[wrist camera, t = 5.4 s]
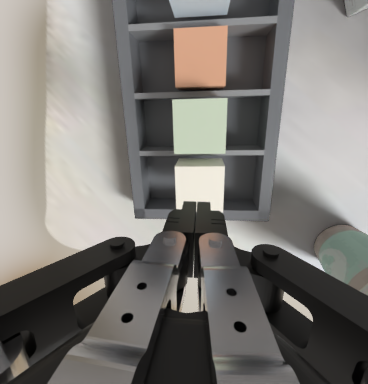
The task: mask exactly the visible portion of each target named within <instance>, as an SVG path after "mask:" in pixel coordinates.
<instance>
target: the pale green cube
mask: <svg viewBox="0 0 368 384" xmlns="http://www.w3.org/2000/svg"><path fill="white" fill-rule="evenodd" d="M227 102H228V98H208V99H172V109H173V136H174V154H225V152H226V127H227Z"/></svg>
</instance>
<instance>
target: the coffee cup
mask: <svg viewBox="0 0 368 384" xmlns="http://www.w3.org/2000/svg"><path fill="white" fill-rule="evenodd" d="M314 251H315V254H316V256H317V258H318V259H319V261H320V263H321V265H322V267H323V269H324V271H325V272H326V273H327V274H329V275H331V276H333V277H335V278H336V279H338V280H340V281H342V282H344V283H346V284H347V285H349V286H351V287H353V288H355V289H357V290H358V291H360V292H362V293H364V294H366V295H368V235H367V234H365V233H363V232H361V231H359V230H358V229H356V228H354V227H352V226H349V225H336V226H332V227H329V228H327V229H326V230H324V231H323V232H322V233H321V234H320V235H319V236H318V237H317V239H316V241H315V244H314Z"/></svg>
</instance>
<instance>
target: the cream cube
mask: <svg viewBox="0 0 368 384" xmlns="http://www.w3.org/2000/svg"><path fill="white" fill-rule="evenodd" d="M224 177H225V165H224V162H223V160H222V158H179V159H178V161H177V163H176V165H175V190H176V209H182V206H183V202H184V201H194V202H196V212H197V202H210V206H211V210H212V211H220V212H221V213H223V202H224Z"/></svg>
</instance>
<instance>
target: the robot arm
mask: <svg viewBox="0 0 368 384" xmlns="http://www.w3.org/2000/svg"><path fill="white" fill-rule="evenodd" d="M193 264H194V278H198V310H199V312H193V313H182V312H181V310H182V306H183V301H184V296H185V291H186V284H187V278H188V277H193ZM103 277H104V280H105V288H103V289H101V290H99V291H98V292H96V293H94V294H93V295H91V296H89V297H87V298H86V299H84V300H82V301H80V302H79V303H77V304H75V305H74V306H73V299H74V296H75V295H76V293H77V292H78V291H80V290H81V289H83V288H85V287H87V286H88V285H90V284H92V283H94V282H96V281H98V280H99V279H101V278H103ZM284 292H286V293H287V294H289V295H290V296H292V297H293V298H294V299H296V300H297V301H299V302H300V303H301V304H303V305H304V306H305V307H307V308H308V310H309V311H310V312H311V314H312V316H313V322H312V321H311V320H309V319H308V318H306V317H305V316H304V315H303V314H301V313H300V312H299V311H297V310H296V309H294V308H293V307H292V306H290V305H289V304H288V303H286V302H285V301H284V300H283V294H284ZM0 384H368V295H366V294H364V293H362V292H360V291H358V290H357V289H355V288H353V287H351V286H349V285H347V284H346V283H344V282H342V281H340V280H338V279H336V278H335V277H333V276H331V275H329V274H327V273H325V272H324V271H322V270H320V269H318V268H316V267H314V266H313V265H311V264H309V263H307V262H305V261H303V260H302V259H300V258H298V257H296V256H294V255H292V254H291V253H289V252H287V251H285V250H283V249H281V248H279V247H277V246H274V245H268V244H261V245H257V246H255V247H254V248H253V249H252V252H248V251H244V250H241V249H238V248H236V247H234V246H233V243H232V240H231V239H230V238H229V237H228V234H227V228H226V223H225V217H224V214H222V213H221V212H220V211H212V210H211V206H210V202H197V214H196V202H194V201H184V202H183V206H182V209H174V210H172V211H171V212H170V213H169V214H168V217H167V220H166V223H165V226H164V228H163V231H162V232H161V233H158V234H157V235H156V236H155V237H154V239H153V240H152V242H151V244H149V245H144V246H137V247H135V242H134V241H133V240H132V239H131V238H128V237H115V238H111V239H109V240H106V241H104V242H102V243H99V244H97V245H95V246H92V247H90V248H88V249H85V250H83V251H80V252H78V253H76V254H73V255H72V256H69V257H66V258H65V259H62V260H59V261H57V262H55V263H53V264H50V265H48V266H45V267H43V268H41V269H38V270H36V271H34V272H32V273H29V274H27V275H25V276H22V277H20V278H18V279H15V280H13V281H10V282H8V283H6V284H3V285H1V286H0Z"/></svg>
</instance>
